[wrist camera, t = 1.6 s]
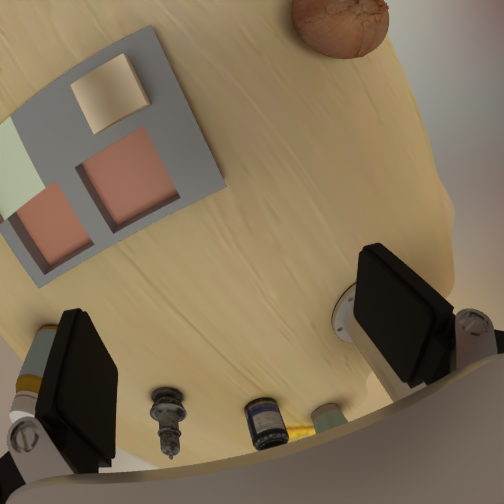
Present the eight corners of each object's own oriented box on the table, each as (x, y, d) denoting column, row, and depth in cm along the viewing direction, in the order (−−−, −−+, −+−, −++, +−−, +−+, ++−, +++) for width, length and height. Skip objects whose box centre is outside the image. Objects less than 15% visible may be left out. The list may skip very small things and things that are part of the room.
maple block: (130, 60, 22) (123, 53, 19) (152, 104, 25) (147, 103, 21) (84, 87, 22) (70, 85, 19) (105, 130, 25) (93, 134, 21)
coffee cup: (297, 422, 57) (315, 469, 47) (320, 398, 54) (343, 447, 44) (327, 422, 60) (347, 465, 50) (350, 399, 57) (374, 443, 47)
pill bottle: (266, 417, 53) (281, 464, 44) (238, 414, 51) (250, 464, 42) (282, 398, 51) (301, 447, 42) (253, 394, 49) (269, 448, 40)
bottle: (29, 336, 35) (-2, 416, 22) (53, 315, 35) (19, 401, 22) (63, 365, 38) (43, 446, 25) (88, 346, 38) (70, 435, 25)
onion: (340, -15, 24) (389, -41, 15) (367, 54, 28) (424, 47, 20) (265, -3, 24) (298, -38, 15) (296, 72, 28) (341, 62, 20)
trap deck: (153, 30, 23) (147, 14, 18) (223, 180, 32) (232, 196, 27) (-25, 157, 23) (-54, 169, 18) (45, 277, 32) (29, 305, 27)
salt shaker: (144, 400, 45) (144, 462, 34) (159, 381, 43) (161, 447, 33) (175, 410, 47) (180, 469, 37) (191, 392, 46) (199, 455, 35)
